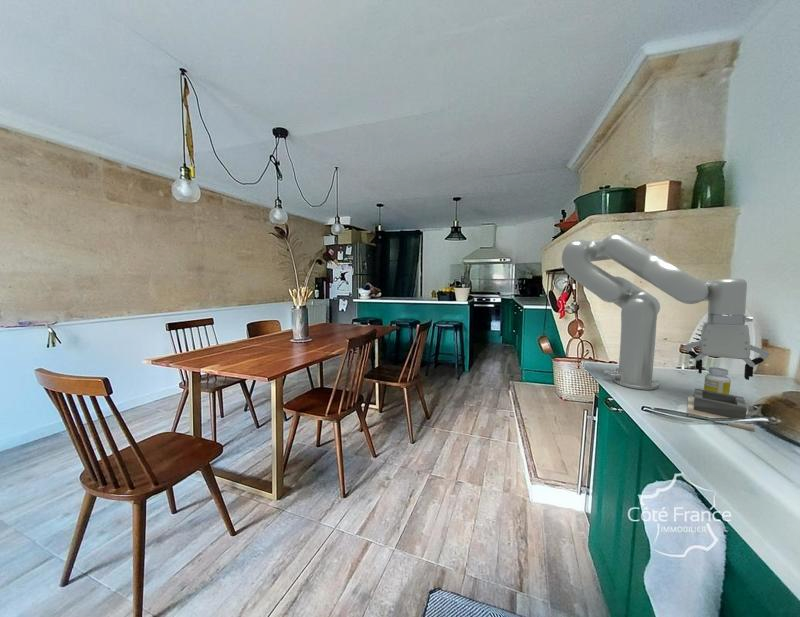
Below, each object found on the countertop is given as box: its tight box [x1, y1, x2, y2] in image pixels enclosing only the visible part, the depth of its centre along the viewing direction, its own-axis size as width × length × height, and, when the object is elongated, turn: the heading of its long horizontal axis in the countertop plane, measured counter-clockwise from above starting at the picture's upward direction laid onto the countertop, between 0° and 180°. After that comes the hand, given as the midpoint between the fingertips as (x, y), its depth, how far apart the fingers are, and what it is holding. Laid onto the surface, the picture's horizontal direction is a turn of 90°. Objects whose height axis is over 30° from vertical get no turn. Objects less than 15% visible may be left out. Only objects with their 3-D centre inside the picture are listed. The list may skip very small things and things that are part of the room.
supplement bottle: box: [703, 366, 732, 395], centre depth 91 cm, size 5×5×10 cm
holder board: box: [686, 388, 755, 432], centre depth 83 cm, size 16×12×4 cm
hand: (722, 375), depth 90 cm, fingers open, 9 cm apart
